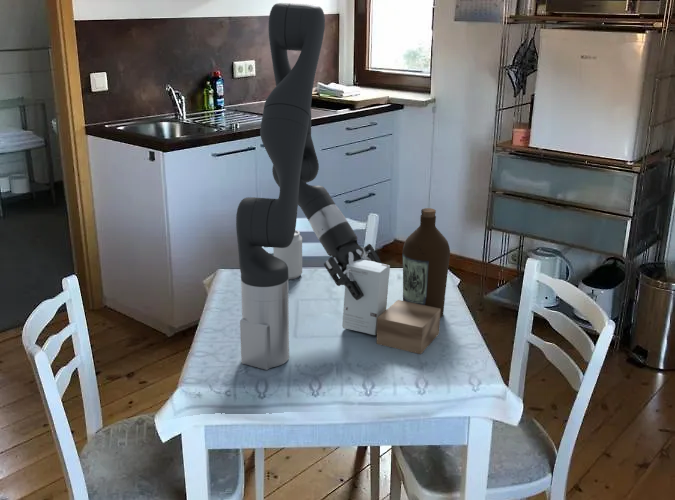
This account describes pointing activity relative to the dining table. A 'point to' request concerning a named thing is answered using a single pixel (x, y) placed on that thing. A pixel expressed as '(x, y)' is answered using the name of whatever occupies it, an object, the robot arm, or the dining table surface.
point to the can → (292, 256)
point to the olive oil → (426, 264)
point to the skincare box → (366, 296)
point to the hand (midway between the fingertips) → (371, 293)
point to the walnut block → (408, 326)
